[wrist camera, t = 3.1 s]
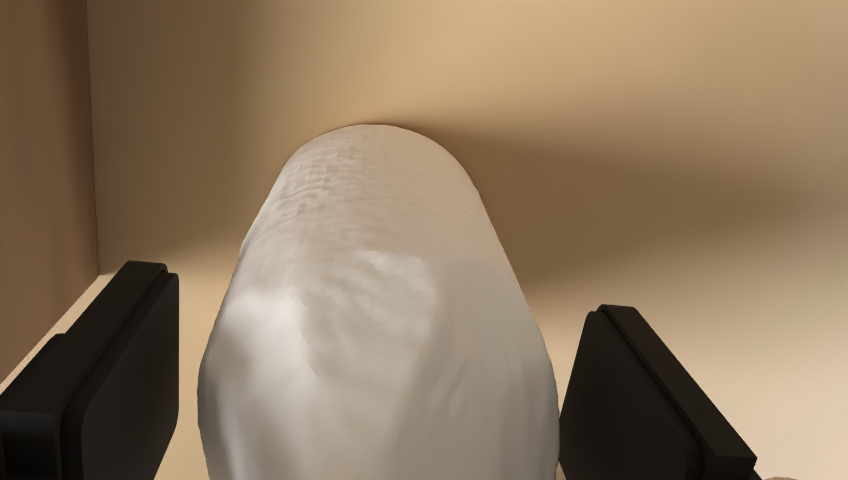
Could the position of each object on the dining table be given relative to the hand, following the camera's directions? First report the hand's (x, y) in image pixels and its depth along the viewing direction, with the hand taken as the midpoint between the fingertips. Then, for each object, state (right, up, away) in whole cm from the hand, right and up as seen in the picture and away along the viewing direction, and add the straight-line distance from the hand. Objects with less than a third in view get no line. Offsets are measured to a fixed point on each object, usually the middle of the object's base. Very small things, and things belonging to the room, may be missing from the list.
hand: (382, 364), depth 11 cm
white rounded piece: (-1, +2, +6) cm, 6 cm away
